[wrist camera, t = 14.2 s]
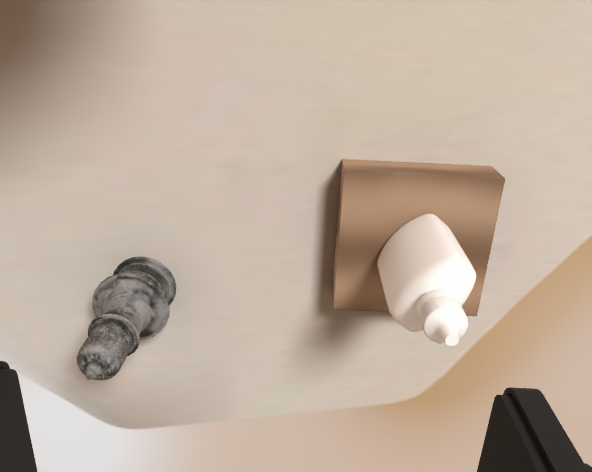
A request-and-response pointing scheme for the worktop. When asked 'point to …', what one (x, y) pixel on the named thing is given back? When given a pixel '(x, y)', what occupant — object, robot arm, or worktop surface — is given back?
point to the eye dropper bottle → (427, 279)
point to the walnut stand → (402, 209)
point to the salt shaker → (126, 315)
